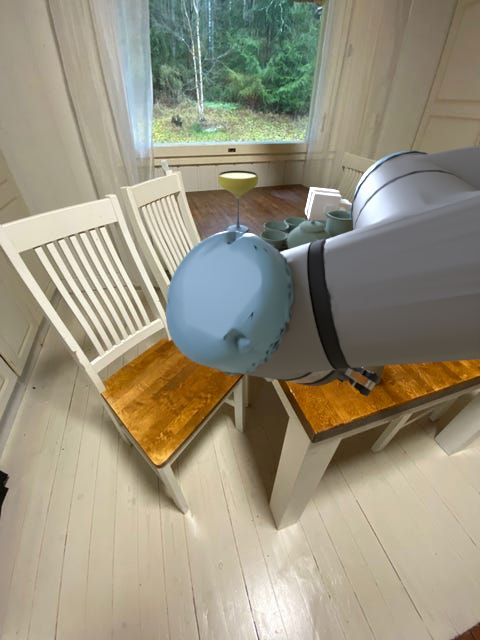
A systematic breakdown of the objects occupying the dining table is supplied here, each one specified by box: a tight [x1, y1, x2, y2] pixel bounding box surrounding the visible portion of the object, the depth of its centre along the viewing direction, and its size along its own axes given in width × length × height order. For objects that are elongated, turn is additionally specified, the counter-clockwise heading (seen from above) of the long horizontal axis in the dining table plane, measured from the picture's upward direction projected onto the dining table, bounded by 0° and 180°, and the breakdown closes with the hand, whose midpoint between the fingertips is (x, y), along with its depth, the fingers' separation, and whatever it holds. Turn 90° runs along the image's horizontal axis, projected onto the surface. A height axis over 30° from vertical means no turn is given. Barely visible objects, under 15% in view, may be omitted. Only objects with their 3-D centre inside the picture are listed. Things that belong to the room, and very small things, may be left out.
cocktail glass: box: [217, 170, 259, 233], centre depth 130 cm, size 18×18×25 cm
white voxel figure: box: [304, 186, 353, 221], centre depth 148 cm, size 15×25×28 cm
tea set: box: [259, 210, 353, 252], centre depth 112 cm, size 40×40×16 cm
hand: (346, 369), depth 46 cm, fingers closed
